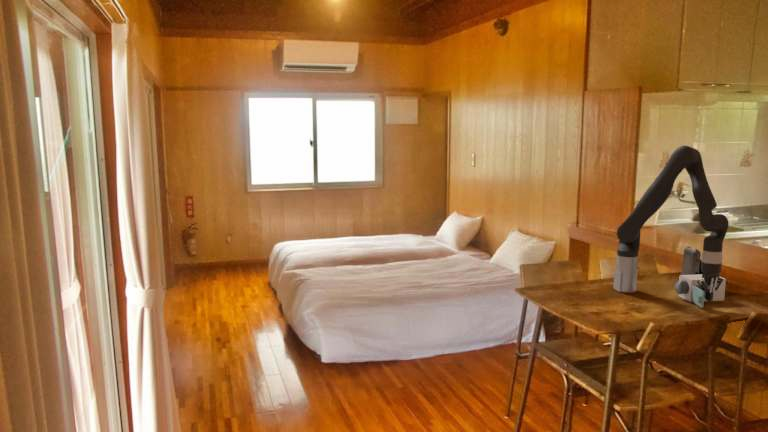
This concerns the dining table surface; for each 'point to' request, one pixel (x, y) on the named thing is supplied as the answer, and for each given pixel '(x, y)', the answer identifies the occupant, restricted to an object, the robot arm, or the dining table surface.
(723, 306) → the dining table surface
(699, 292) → the side door
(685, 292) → the camera body
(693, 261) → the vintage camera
